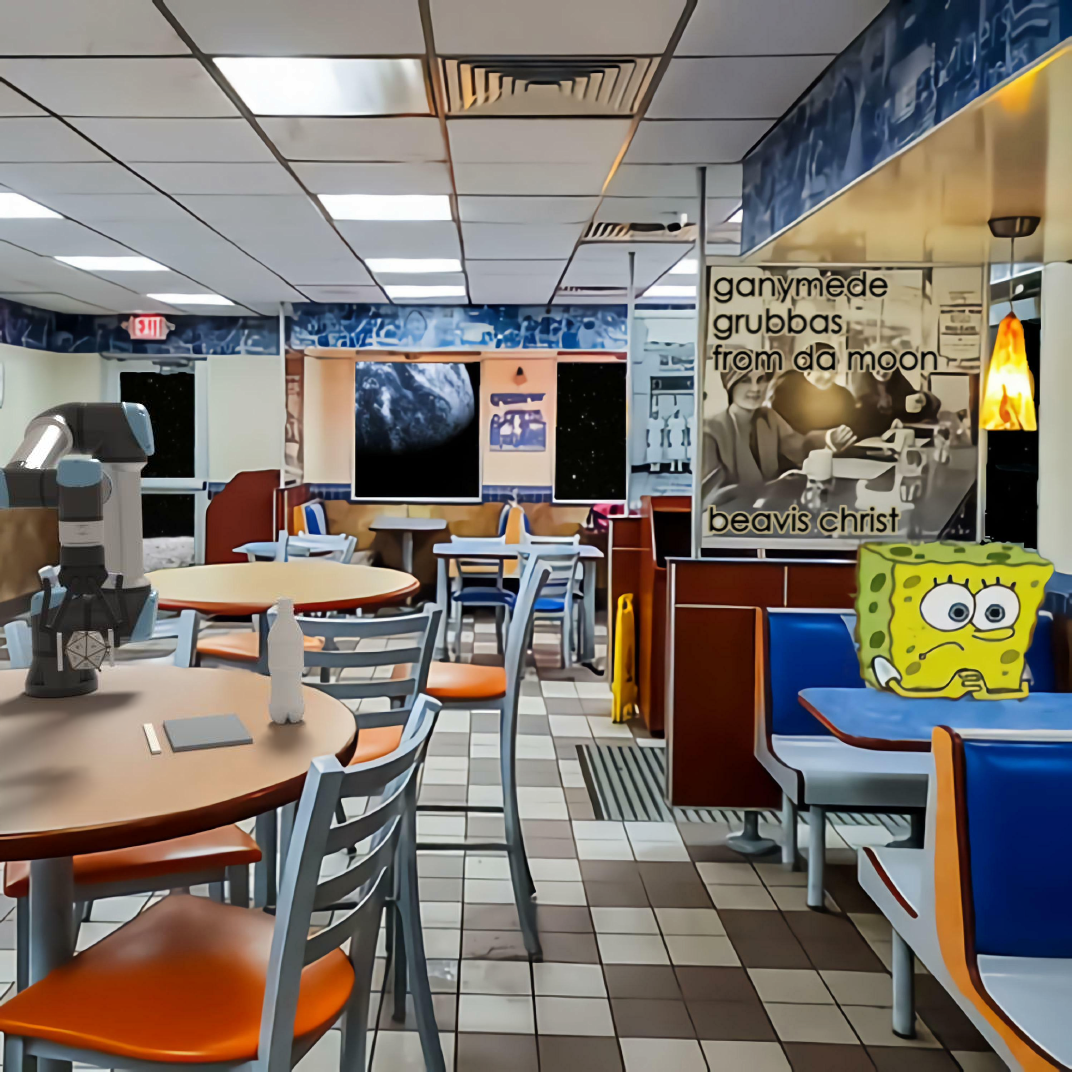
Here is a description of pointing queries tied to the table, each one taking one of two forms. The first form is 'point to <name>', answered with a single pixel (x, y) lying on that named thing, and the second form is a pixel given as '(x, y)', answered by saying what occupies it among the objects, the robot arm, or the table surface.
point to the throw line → (152, 738)
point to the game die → (86, 650)
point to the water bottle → (286, 665)
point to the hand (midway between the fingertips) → (86, 667)
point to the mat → (206, 732)
